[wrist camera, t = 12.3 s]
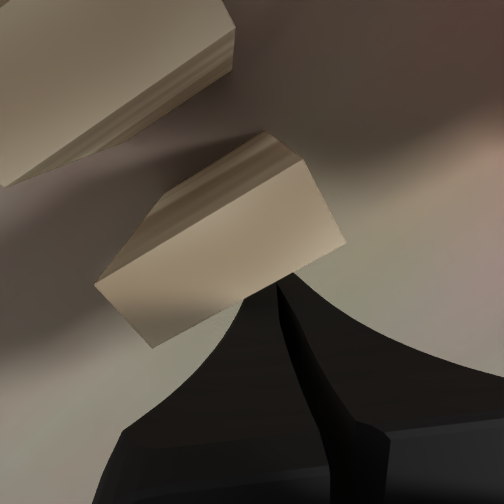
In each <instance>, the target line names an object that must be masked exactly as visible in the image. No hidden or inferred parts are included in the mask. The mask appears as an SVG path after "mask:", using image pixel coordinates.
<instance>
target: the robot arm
mask: <svg viewBox="0 0 504 504" xmlns="http://www.w3.org/2000/svg"><path fill="white" fill-rule="evenodd" d="M92 504H504V377H500V376H496V375H493V374H489V373H485V372H482V371H478V370H474V369H471V368H467V367H464V366H461V365H458V364H455V363H452V362H449V361H446V360H443V359H440V358H437V357H434V356H432V355H429V354H426V353H424V352H421V351H419V350H416V349H413V348H411V347H409V346H407V345H404V344H402V343H400V342H397V341H395V340H393V339H391V338H388V337H386V336H384V335H382V334H380V333H378V332H376V331H374V330H372V329H371V328H369V327H367V326H365V325H363V324H362V323H360V322H358V321H356V320H355V319H353V318H351V317H350V316H348V315H347V314H345V313H344V312H342V311H341V310H339V309H338V308H336V307H335V306H333V305H332V304H330V303H329V302H328V301H326V300H325V299H324V298H323V297H321V296H320V295H319V294H318V293H316V292H315V291H314V290H313V289H312V288H310V287H309V286H308V285H307V284H306V283H305V282H304V281H302V280H301V279H300V278H299V277H298V276H297V275H296V274H294V273H293V272H292V273H291V274H289V275H287V276H285V277H283V278H281V279H280V280H278V281H276V282H274V283H272V284H270V285H268V286H267V287H265V288H263V289H261V290H259V291H257V292H256V293H254V294H252V295H250V296H248V297H246V298H245V299H244V300H243V303H242V305H241V307H240V309H239V311H238V313H237V315H236V317H235V319H234V320H233V322H232V324H231V326H230V327H229V329H228V331H227V332H226V334H225V335H224V337H223V338H222V340H221V341H220V342H219V344H218V345H217V346H216V348H215V349H214V350H213V352H212V353H211V354H210V355H209V356H208V358H207V359H206V360H205V361H204V362H203V363H202V365H201V366H200V367H199V368H198V369H197V370H196V371H195V372H194V373H193V374H192V375H191V376H190V377H189V378H188V379H187V380H186V381H185V382H184V383H183V384H182V385H181V386H180V387H179V388H178V389H176V390H175V391H174V392H173V393H172V394H171V395H170V396H168V397H167V398H166V399H165V400H163V401H162V402H161V403H160V404H158V405H157V406H156V407H154V408H153V409H152V410H150V411H149V412H148V413H146V414H145V415H144V416H142V417H141V418H140V419H138V420H137V421H136V422H134V423H133V424H132V425H130V426H129V427H127V428H126V429H124V430H123V431H122V433H121V435H120V437H119V439H118V441H117V444H116V446H115V448H114V450H113V452H112V454H111V456H110V458H109V460H108V463H107V465H106V467H105V469H104V471H103V474H102V476H101V479H100V482H99V485H98V488H97V490H96V493H95V496H94V499H93V502H92Z"/></svg>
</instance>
